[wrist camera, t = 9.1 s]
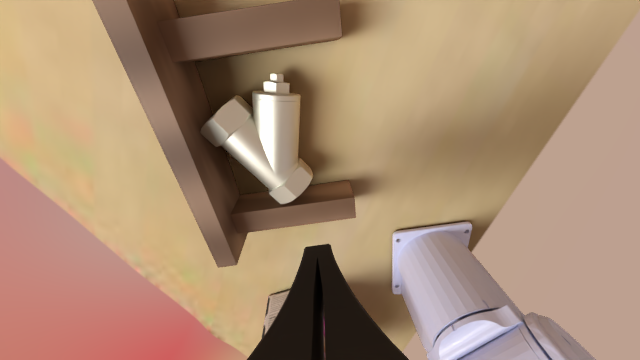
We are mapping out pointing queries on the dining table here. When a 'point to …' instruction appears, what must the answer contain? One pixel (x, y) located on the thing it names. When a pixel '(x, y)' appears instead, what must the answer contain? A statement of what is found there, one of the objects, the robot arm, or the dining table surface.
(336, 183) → the fitting jig
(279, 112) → the pipe fitting
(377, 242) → the dining table surface
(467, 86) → the dining table surface
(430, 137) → the dining table surface
